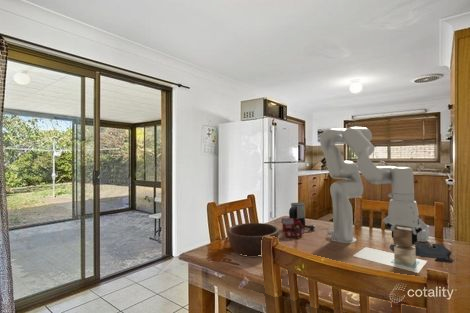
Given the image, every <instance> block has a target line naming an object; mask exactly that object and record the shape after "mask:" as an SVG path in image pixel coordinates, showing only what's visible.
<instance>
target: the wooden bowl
mask: <svg viewBox="0 0 470 313" xmlns="http://www.w3.org/2000/svg"><path fill="white" fill-rule="evenodd" d="M265 235H270V236H275V237H277V238H278V239H279V229H278V227H277V226H275V225H272V224H270V223H269V224H268V223H261V222H246V223H244V222H243V223H240V224H239V223H238V224H235V225H232V226H230V227H229V228H228V229H227V238H228V242H229V243H228V244H229V245H230V248H231V250H232V251H233V252H234V253H235V252H236V253H238V254H242V255H247V256H258V255H261V240H262V237H263V236H265ZM236 253H235V254H236ZM238 254H237V255H238Z"/></svg>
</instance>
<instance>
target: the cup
mask: <svg viewBox="0 0 470 313" xmlns="http://www.w3.org/2000/svg"><path fill="white" fill-rule="evenodd" d="M426 225H427V227H426V228H425V229H423V230H422V231H420V232H419V233H417V242H419V243H421V242H422V243H426V242H428V241H429V236H430V225H428V224H426ZM419 227H421V225H420V224H419V225H418V226H417V227H416V228H417V229H418V228H419Z"/></svg>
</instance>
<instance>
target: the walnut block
mask: <svg viewBox="0 0 470 313" xmlns="http://www.w3.org/2000/svg"><path fill="white" fill-rule="evenodd" d="M393 237H394V241H393V244H394V245H400V246H405V247H410V248H411V247H412V246H415V244H412V230H411V228H410V227H405V226H397V227H396V228H395V229H393Z"/></svg>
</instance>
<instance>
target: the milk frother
mask: <svg viewBox="0 0 470 313" xmlns="http://www.w3.org/2000/svg"><path fill="white" fill-rule="evenodd" d="M305 205H306V203H304V202H291V203H290V208H289V211H288V216H289V218H293V219H294V220H295V218H298V219H299V221H300V222H301V223H302V225H303V227H304V229H305V228H306V229H309V230H311V229H313V230H314V229H316V227H315V226H314V225H313V224H312V225H306V210H305ZM299 225H300V224H299Z"/></svg>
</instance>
